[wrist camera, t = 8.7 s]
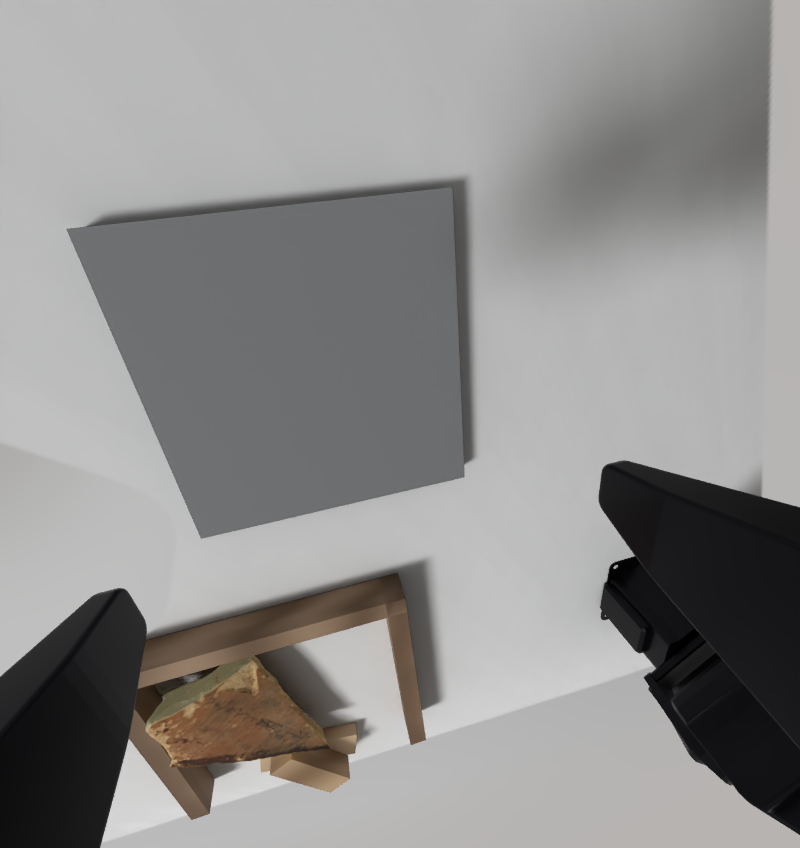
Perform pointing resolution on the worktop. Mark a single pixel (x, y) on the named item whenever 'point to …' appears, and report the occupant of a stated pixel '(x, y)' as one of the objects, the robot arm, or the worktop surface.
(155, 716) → the shard
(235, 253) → the charcoal mat
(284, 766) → the upper oak offcut
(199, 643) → the walnut open-sided frame
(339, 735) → the lower oak offcut
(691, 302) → the worktop surface
